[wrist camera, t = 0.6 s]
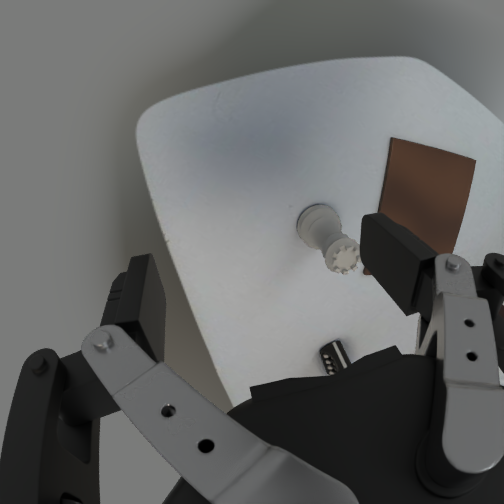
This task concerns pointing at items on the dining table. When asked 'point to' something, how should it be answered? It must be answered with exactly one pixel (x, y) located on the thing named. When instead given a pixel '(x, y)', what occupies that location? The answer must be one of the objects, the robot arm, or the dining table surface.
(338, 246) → the rook chess piece
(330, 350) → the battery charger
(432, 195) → the serving board
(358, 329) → the dining table surface
